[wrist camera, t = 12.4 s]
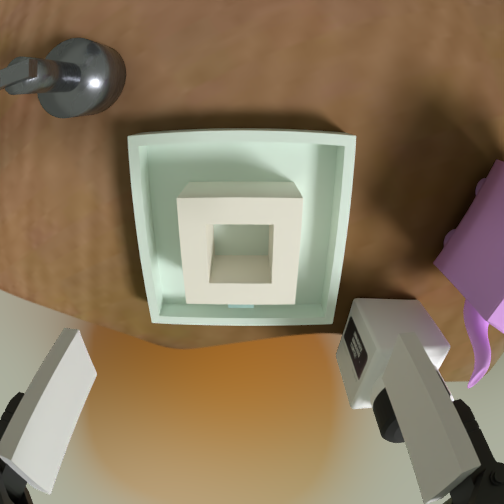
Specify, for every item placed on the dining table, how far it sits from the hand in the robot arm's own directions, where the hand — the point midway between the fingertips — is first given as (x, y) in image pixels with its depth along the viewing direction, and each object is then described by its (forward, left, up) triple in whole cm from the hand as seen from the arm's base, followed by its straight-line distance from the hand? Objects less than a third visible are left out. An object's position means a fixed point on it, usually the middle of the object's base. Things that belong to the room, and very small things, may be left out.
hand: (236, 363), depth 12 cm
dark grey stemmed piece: (-13, -12, -16) cm, 23 cm away
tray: (0, 0, -16) cm, 16 cm away
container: (+11, +14, -16) cm, 24 cm away
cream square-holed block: (0, 0, -15) cm, 15 cm away
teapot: (+1, +24, -16) cm, 29 cm away
